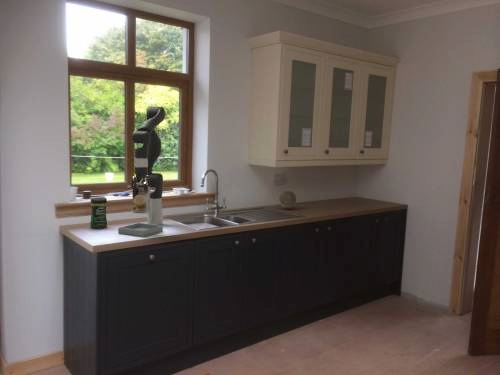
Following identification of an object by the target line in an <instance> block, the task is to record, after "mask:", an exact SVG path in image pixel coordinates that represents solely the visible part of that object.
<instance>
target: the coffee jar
mask: <svg viewBox="0 0 500 375" xmlns="http://www.w3.org/2000/svg"><path fill="white" fill-rule="evenodd" d="M107 200H108V199H107V197H99V196H96V197H95V196H94V197H91V199H90V202H89V203H90V206H91V207H90V208H91V216H90V228H91V229H92V228H93V229H103V228H106V227H107V226H108V220H107V219H108V218H107V206H108V201H107Z"/></svg>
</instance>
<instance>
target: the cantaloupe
mask: <svg viewBox="0 0 500 375" xmlns="http://www.w3.org/2000/svg"><path fill="white" fill-rule="evenodd" d="M296 202H297V196H296V193H294V192H293V191H289V190H284V191H282V192H281V193H280V195H279V204H280V206H281V207H283V209H285V210H291V209H292V208H294V207H295V205H296Z"/></svg>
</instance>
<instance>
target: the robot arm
mask: <svg viewBox="0 0 500 375" xmlns="http://www.w3.org/2000/svg"><path fill="white" fill-rule="evenodd" d="M165 117H166V111H165V108H164V107H163V106H156V105H155V106H153V105H151V106H148V107H146V118H145V119H146V120H145V121H144V122H142V124H141V126H140V127H138V128H137V129H135V130H134V131H133V132H132V133H131V142H133V143H134V144H141V145H142V146H141V147H136V148H135V150H134V162H133V163H134V166H133V167H134V171H133V172H134V175H135V176H131V185H130V186H131V188H132V189H133V188H134V194H135V195H138V187H139V185H150V188H155V190H154V191H152V192H151V191H150V212H149V213H146V215H147V216H146V224H153V225H161V226H162V225H163V222H164V221H163V212H164V211H163V191H164V190H163V188H164V187H163V186H164V176H163V174H162V173H159V172H153V168H154V165H155V163H156V162H157V161H158V159H159V157H160V155H161V153H162V141H161V139H160V136H159V135H158V133H157V132H156V130H155V128H157V127H158V125H160V124H162V122H163V121H164V119H166V118H165ZM136 185H137V186H136Z"/></svg>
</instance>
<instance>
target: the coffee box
mask: <svg viewBox="0 0 500 375" xmlns="http://www.w3.org/2000/svg"><path fill="white" fill-rule="evenodd" d="M136 186H137V185H136ZM150 193H151V187H150V185H143V184H140V185H139V187H138V195H135V194H134V188H133V187H132V210H131V211H132V214H147V213H149V212H150Z"/></svg>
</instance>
